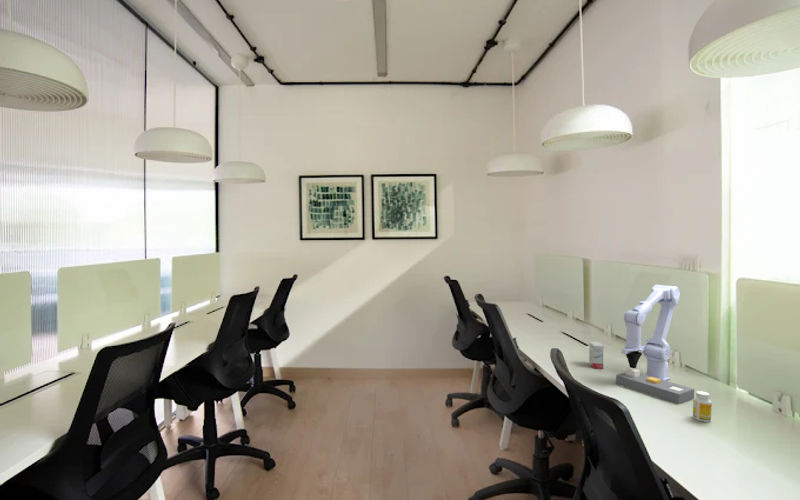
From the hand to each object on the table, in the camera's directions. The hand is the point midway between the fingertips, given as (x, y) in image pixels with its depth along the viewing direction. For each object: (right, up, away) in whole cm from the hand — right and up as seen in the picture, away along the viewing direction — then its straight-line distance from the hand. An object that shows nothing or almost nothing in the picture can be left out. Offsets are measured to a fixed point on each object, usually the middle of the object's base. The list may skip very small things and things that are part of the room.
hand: (632, 367), depth 184 cm
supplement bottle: (+5, -9, -35) cm, 36 cm away
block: (0, -5, 0) cm, 5 cm away
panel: (+5, -8, -8) cm, 12 cm away
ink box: (-4, -7, +26) cm, 27 cm away
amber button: (+5, -6, -8) cm, 11 cm away
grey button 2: (+9, -8, -15) cm, 19 cm away
